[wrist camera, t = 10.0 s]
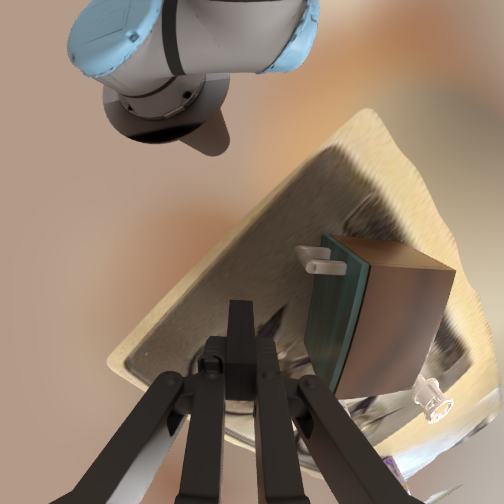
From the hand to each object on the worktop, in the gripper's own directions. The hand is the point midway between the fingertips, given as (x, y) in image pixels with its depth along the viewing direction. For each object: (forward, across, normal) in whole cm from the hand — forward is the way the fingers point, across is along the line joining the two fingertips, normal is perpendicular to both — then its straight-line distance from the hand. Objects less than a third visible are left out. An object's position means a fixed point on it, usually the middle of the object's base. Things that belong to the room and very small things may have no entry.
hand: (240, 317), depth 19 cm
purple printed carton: (+23, +56, -81) cm, 102 cm away
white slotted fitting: (+25, +43, -33) cm, 59 cm away
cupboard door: (+25, +10, -9) cm, 29 cm away
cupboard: (+25, +21, -10) cm, 34 cm away
